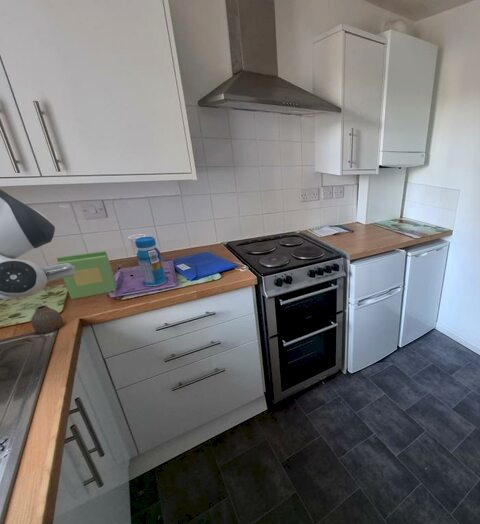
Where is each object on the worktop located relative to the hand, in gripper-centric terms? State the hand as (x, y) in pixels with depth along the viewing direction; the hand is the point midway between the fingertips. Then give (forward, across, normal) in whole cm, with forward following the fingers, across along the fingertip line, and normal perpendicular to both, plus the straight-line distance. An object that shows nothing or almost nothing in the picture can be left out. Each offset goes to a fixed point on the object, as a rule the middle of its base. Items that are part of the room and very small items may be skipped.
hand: (27, 281), depth 85 cm
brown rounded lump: (+12, +1, +17) cm, 20 cm away
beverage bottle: (+26, -34, +13) cm, 45 cm away
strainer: (+55, -37, +2) cm, 66 cm away
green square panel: (+33, -14, +9) cm, 37 cm away
